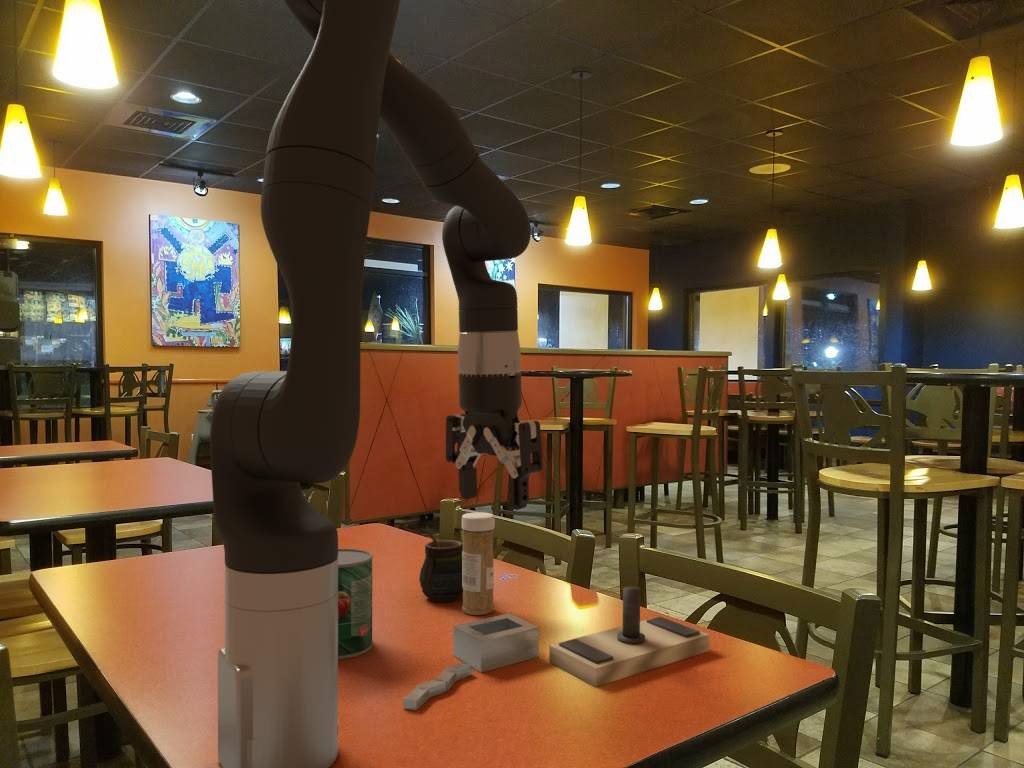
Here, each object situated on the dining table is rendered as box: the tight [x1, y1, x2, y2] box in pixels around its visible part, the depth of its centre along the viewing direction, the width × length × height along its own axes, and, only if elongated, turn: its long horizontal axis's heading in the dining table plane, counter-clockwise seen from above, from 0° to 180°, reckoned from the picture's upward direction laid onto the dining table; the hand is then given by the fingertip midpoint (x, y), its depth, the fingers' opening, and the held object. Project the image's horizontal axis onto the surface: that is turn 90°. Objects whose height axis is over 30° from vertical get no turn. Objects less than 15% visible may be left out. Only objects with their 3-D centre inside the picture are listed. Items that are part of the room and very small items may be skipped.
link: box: [452, 612, 540, 673], centre depth 87 cm, size 8×6×4 cm
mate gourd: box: [418, 526, 463, 603], centre depth 109 cm, size 7×8×10 cm
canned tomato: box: [338, 548, 374, 660], centre depth 90 cm, size 8×8×11 cm
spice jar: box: [461, 511, 496, 616], centre depth 103 cm, size 5×5×14 cm
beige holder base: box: [548, 585, 710, 688], centre depth 87 cm, size 18×8×8 cm, turn 125°
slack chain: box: [402, 661, 473, 711], centre depth 78 cm, size 11×2×1 cm, turn 149°
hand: (493, 503), depth 91 cm, fingers open, 8 cm apart
